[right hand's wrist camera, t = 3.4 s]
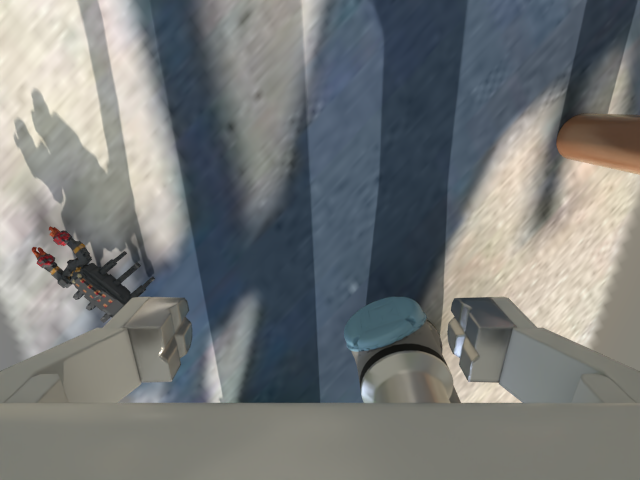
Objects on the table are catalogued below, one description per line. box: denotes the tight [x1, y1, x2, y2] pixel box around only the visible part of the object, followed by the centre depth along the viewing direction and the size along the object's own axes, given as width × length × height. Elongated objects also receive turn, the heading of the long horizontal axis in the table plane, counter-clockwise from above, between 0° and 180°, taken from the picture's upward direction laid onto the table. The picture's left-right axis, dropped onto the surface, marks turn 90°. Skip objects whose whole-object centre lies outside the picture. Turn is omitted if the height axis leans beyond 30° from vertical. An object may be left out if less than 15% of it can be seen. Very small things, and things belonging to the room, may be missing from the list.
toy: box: [32, 227, 155, 323], centre depth 56 cm, size 13×27×18 cm, turn 39°
